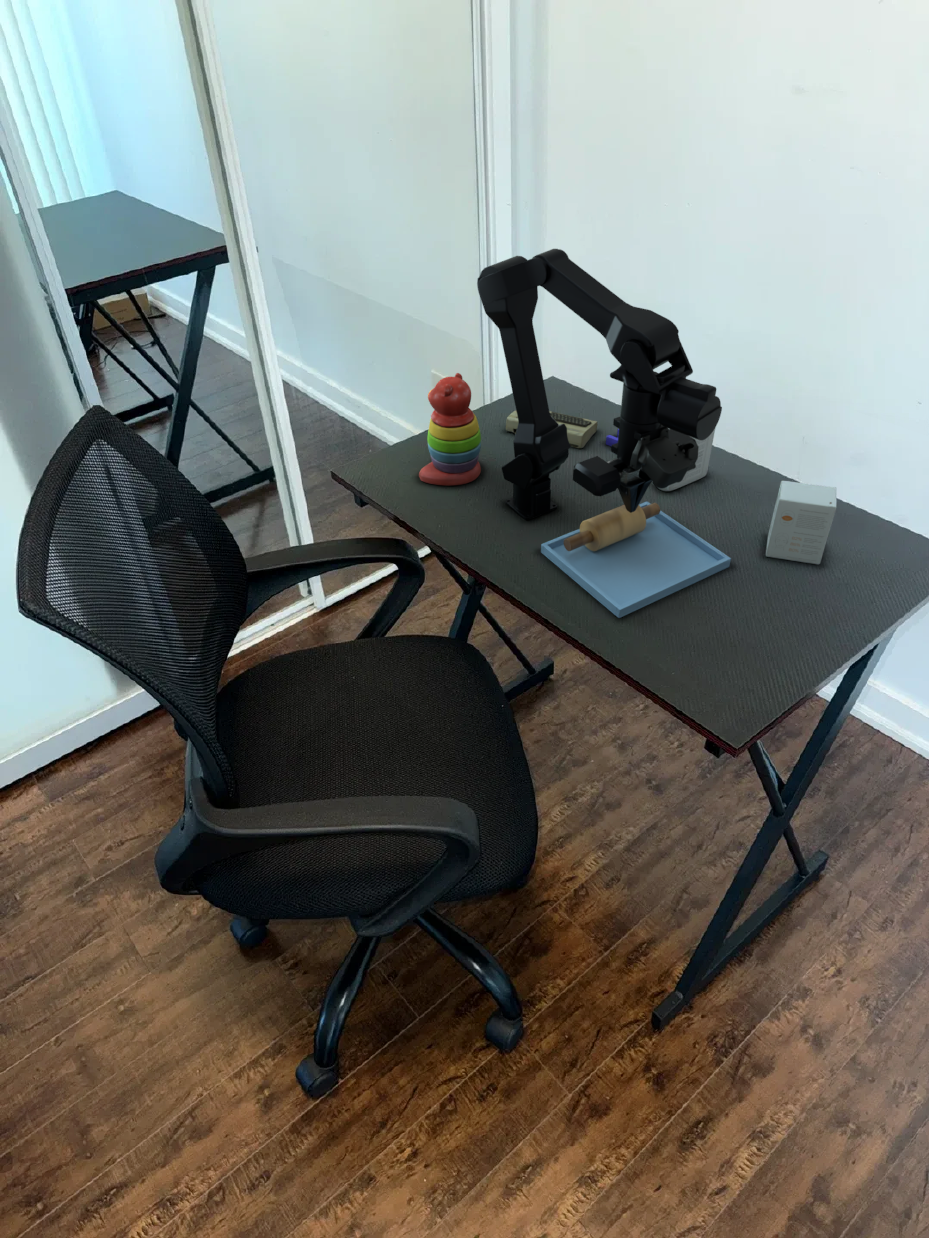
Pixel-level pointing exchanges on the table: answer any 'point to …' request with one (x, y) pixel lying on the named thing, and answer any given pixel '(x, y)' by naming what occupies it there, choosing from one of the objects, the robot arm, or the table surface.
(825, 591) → the table surface
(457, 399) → the stacking bear
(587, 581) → the tray
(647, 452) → the robot arm
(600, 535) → the rolling pin
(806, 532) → the small box
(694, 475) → the photo printer
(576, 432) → the computer
